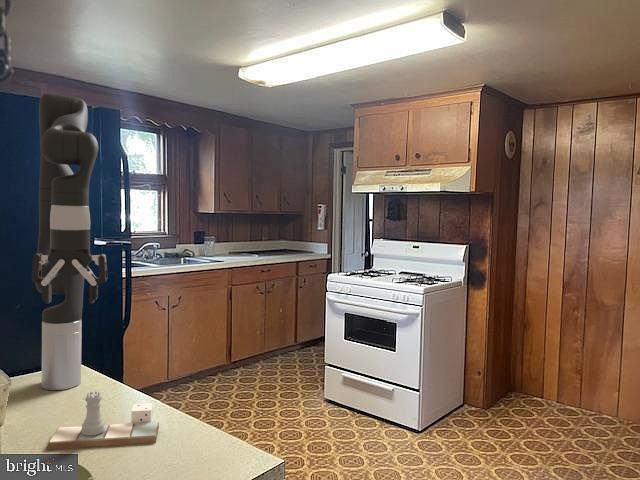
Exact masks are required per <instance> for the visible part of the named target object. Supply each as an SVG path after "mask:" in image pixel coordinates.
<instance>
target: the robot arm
mask: <svg viewBox="0 0 640 480" xmlns="http://www.w3.org/2000/svg"><path fill="white" fill-rule="evenodd" d="M88 111H89V110H88V106H87V103H86V102H85V101H84V99H82V98H80V97H77V96H71V95H64V94H56V93H50V92H49V93H43V94H41V96H40V98H39V104H38V123H39V124H38V125H39V126H38V127H39V145H40V146H39V147H40V159H39V161H40V163H39V164H40V165H39V166H40V167H39V179H38V181H39V183H38V188H39V189H38V241H37V250H36V254H34V255H33V256H32V262H31V265H32V266H31V282H32V283H33V284H34V285H35V288H36V290H37V291H38V292H39V293H40V294H41V299H42V301H44V302H45V304H50V303H52V295H65V297H64V300H63V302H61V303H59V304H56V305H54V306H53V305H52V306H49V307H47V308H44V309H43V310H42V313H41V383H40V384H41V388H42V389H45V390H46V391H47V390H50V391H60V390H67V389H71V388H75V387H77V386H79V385H80V384H81V381H82V338H83V337H82V335H83V334H82V331H83V330H82V326H83V325H82V324H83V323H82V322H83V321H82V316H83V307H84V291H85V290H84V289H85V280H86V281H87V282H88V283H89V284H90V285H89V292H88V294H89V300H88V302H89V304H94V303H95V301H97V299H98V297H99V285H100V284H104V283H105V282H107V280H108V266H107V265H108V264H107V263H108V262H107V255H106V254H105V253H102V254H96V255H95V254H94V255H93V254H92V253H91V224H92V223H91V213H90V204H89V203H90V198H89V197H90V194H89V193H90V183H91V182H90V181H91V177H92V172H93V169H94V166H95V163H96V159H97V157H98V153H99V142H98V140H97V138H96V136H95V135H93V133H91V132H87V127H88V119H89V112H88ZM70 166H79V168H78V171H77V172H75V173H74V172H73V170H72V168H71V167H70ZM92 261H94V264H95V265H97V266H98V273H99V274H98V277H97V276H96V275H95V274H94V272H93V270H92V269H91V268H90V267H89V265H90V264H91V262H92Z"/></svg>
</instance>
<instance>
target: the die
mask: <svg viewBox="0 0 640 480" xmlns="http://www.w3.org/2000/svg"><path fill="white" fill-rule="evenodd" d="M130 421H131V422H130V423H133V424H135V423H147V422H154V403H153V402H151V403H149V402H148V403H147V402H146V403H134V404H133V406H132V409H131V419H130Z"/></svg>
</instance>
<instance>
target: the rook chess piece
mask: <svg viewBox="0 0 640 480" xmlns="http://www.w3.org/2000/svg"><path fill="white" fill-rule="evenodd" d="M102 399H103V396H102V395H101V392H100V391H90V393H89V392H87V394H86V396H85V398H84V401H85V402H86V403H87V404H86V405H85V407H86V415H85V418H84V420H83V423H82V424H81V426H82V430H81V432H82V434H83V435H85V436H96V435H99V434H101V433H102V432H103V431H104V430H105V427H104V425H106V423H105V421H104V420H103V417H102V415H101V406H102V404H101V401H102Z"/></svg>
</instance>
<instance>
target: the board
mask: <svg viewBox="0 0 640 480" xmlns="http://www.w3.org/2000/svg"><path fill="white" fill-rule="evenodd" d="M104 427H105V430H104V431H103V432H102V433H101V434H99V435H96V436H85V435H83V434H82V432H81V430H82V425H81V426H64V427H63V426H62V427H61V426H60V427H58V428H57V429H56V430H55V432H54V434H53V435H52V436H51V439H50V440H49V441H48V443H47V450H62V449H77V448H91V447H92V448H94V447H108V446H123V445H124V446H125V445H136V444H137V445H138V444H152V443H153V444H154V443H157V439H158V438H157V437H158V434H159V429H160V422H159V421H152V422H147V423H135V424H133V423H131V422H130V423H115V424H105V425H104Z"/></svg>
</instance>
